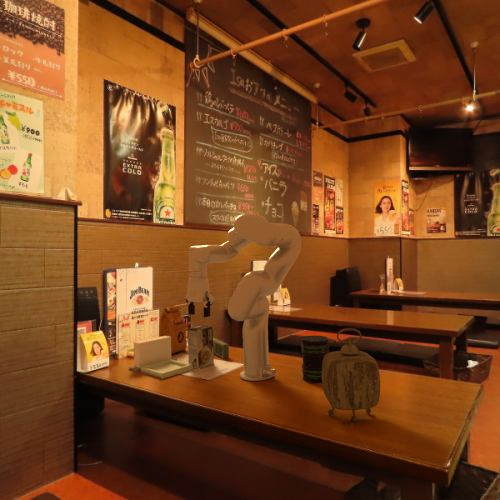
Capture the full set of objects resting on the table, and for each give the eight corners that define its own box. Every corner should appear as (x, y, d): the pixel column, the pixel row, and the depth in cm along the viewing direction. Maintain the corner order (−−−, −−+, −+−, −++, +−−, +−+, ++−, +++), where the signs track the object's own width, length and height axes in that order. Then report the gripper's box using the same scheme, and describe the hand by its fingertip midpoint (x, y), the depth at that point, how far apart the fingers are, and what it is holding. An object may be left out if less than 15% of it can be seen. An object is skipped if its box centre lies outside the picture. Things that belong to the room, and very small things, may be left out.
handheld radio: (222, 359, 182) (202, 348, 204) (229, 358, 183) (209, 348, 206) (222, 344, 182) (202, 335, 204) (229, 343, 184) (209, 334, 206)
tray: (192, 369, 167) (192, 364, 167) (162, 378, 155) (161, 373, 155) (171, 364, 176) (171, 359, 176) (141, 372, 165) (140, 367, 165)
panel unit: (176, 361, 181) (175, 336, 181) (137, 371, 166) (136, 344, 166) (168, 359, 185) (167, 334, 185) (128, 369, 170) (128, 342, 170)
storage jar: (298, 381, 147) (297, 339, 147) (307, 374, 156) (306, 334, 156) (325, 385, 142) (323, 342, 143) (333, 377, 151) (332, 336, 151)
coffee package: (190, 350, 201) (188, 305, 201) (172, 356, 190) (170, 308, 190) (174, 348, 206) (173, 304, 206) (156, 353, 195) (155, 307, 196)
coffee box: (203, 361, 178) (202, 324, 178) (214, 364, 174) (213, 325, 174) (187, 366, 171) (186, 328, 171) (198, 369, 167) (197, 329, 167)
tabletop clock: (372, 411, 118) (369, 324, 118) (384, 424, 109) (380, 330, 109) (322, 413, 118) (320, 326, 118) (330, 427, 109) (326, 332, 109)
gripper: (178, 275, 176) (179, 314, 176) (205, 276, 165) (206, 318, 165) (191, 274, 182) (192, 312, 182) (219, 275, 170) (219, 316, 170)
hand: (199, 315), depth 173 cm, fingers open, 9 cm apart
